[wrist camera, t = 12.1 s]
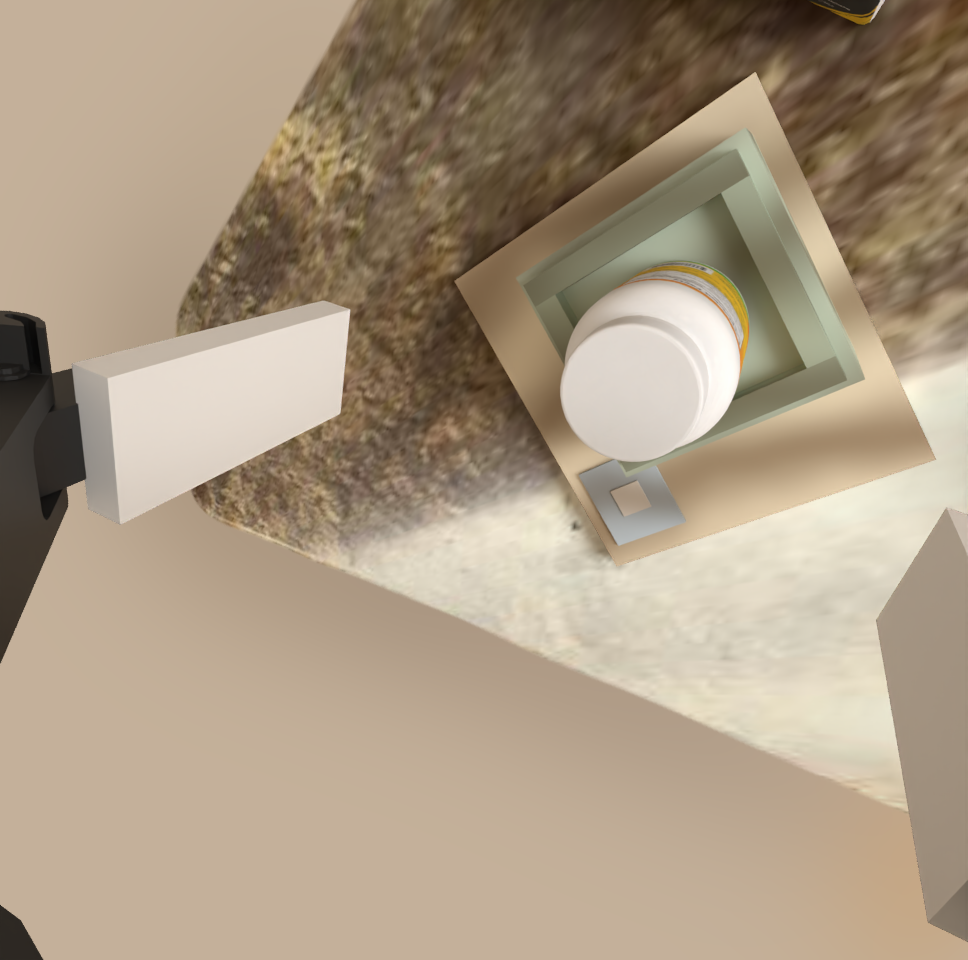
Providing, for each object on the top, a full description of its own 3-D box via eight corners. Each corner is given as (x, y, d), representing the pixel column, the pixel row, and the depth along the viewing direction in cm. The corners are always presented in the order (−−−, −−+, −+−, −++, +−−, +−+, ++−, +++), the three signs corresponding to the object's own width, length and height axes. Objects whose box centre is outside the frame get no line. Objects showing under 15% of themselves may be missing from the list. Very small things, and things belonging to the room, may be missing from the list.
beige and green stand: (931, 450, 30) (965, 518, 24) (621, 556, 39) (589, 626, 32) (756, 75, 27) (746, 47, 21) (463, 278, 36) (397, 298, 30)
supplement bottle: (662, 419, 28) (609, 517, 20) (585, 317, 28) (499, 375, 20) (780, 342, 25) (775, 421, 17) (696, 227, 25) (649, 252, 17)
